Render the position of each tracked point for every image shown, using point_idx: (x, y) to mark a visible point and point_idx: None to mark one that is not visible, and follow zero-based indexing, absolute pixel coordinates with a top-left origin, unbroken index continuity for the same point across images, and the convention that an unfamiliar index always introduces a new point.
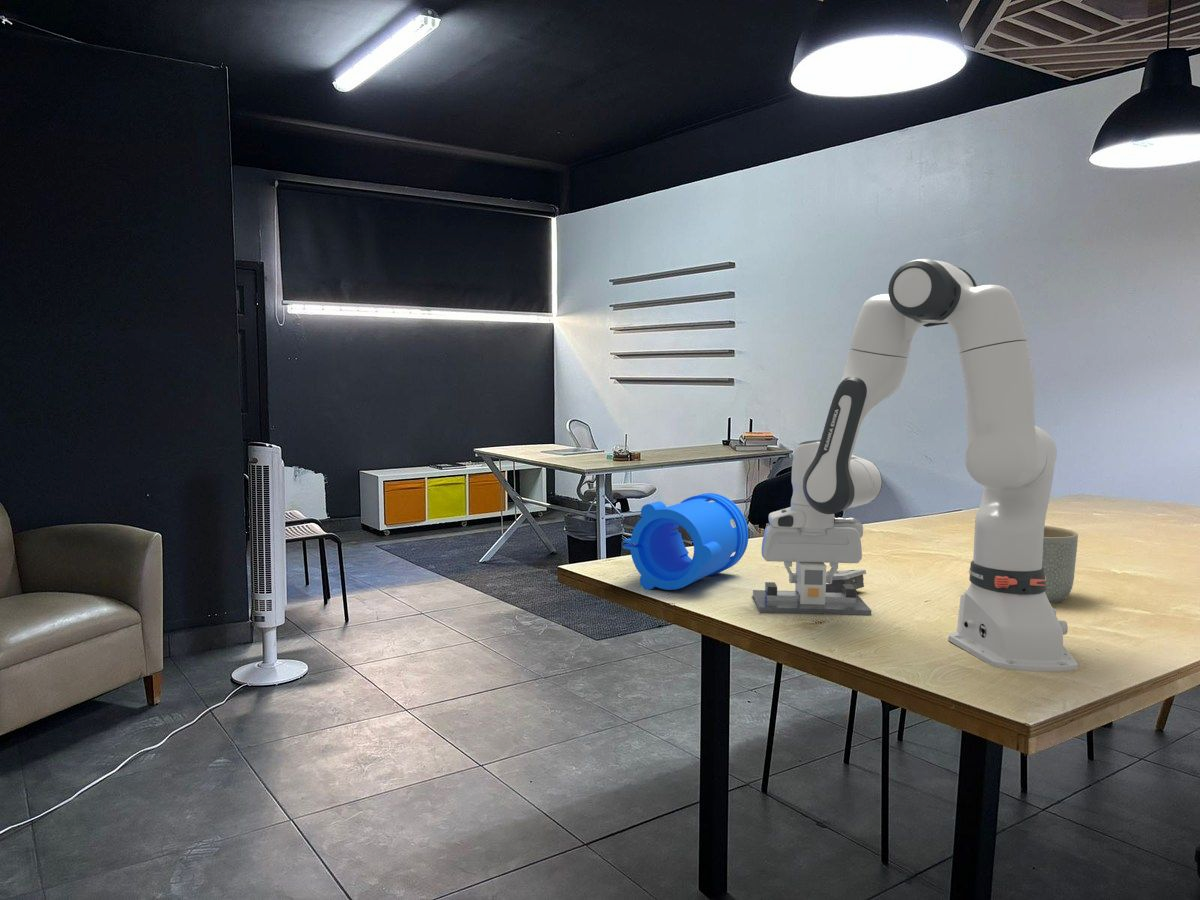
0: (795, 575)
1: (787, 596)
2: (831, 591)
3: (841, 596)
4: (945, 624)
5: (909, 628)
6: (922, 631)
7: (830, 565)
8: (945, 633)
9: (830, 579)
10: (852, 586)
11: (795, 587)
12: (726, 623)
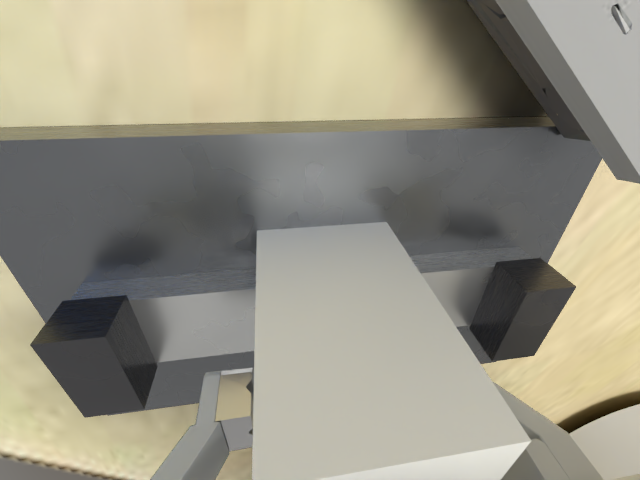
0: (243, 446)
1: (211, 352)
2: (515, 60)
3: (458, 319)
4: (630, 347)
5: (522, 387)
6: (535, 396)
7: (513, 471)
8: (572, 395)
9: None
10: (549, 321)
11: (256, 262)
12: (34, 463)
